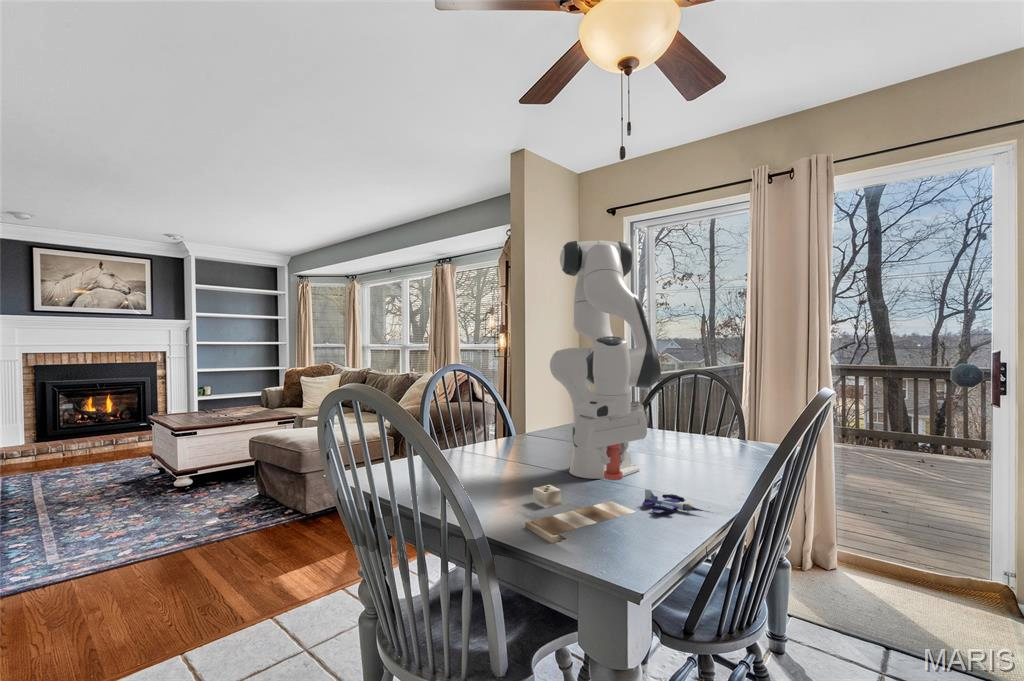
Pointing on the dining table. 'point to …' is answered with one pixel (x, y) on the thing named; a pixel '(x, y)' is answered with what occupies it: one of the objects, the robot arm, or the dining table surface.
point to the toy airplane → (667, 503)
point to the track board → (575, 520)
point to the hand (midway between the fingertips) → (612, 462)
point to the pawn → (613, 463)
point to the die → (547, 496)
